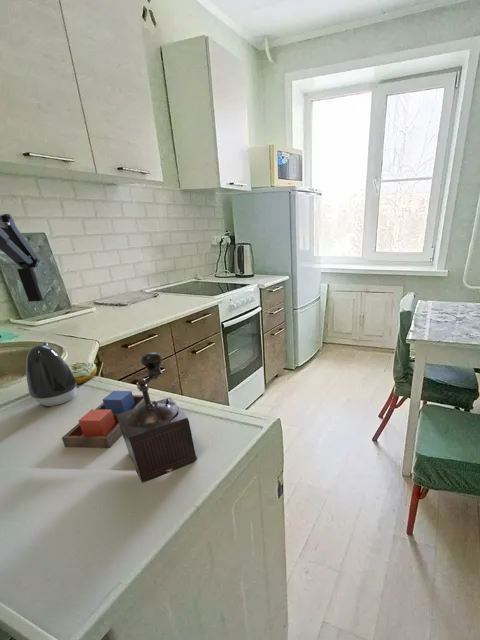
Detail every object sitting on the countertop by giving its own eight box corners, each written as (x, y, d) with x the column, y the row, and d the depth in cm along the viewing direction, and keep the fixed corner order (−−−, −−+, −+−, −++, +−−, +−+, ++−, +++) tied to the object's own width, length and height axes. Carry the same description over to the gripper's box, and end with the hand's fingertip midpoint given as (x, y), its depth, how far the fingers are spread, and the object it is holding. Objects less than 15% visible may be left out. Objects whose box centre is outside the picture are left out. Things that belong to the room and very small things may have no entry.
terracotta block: (84, 439, 73) (78, 420, 71) (97, 427, 77) (91, 409, 75) (105, 439, 72) (99, 420, 70) (116, 427, 76) (111, 409, 74)
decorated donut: (55, 389, 98) (51, 377, 96) (60, 375, 106) (56, 364, 105) (97, 381, 101) (93, 369, 99) (98, 368, 110) (95, 357, 108)
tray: (65, 449, 71) (61, 437, 70) (114, 405, 88) (111, 395, 86) (110, 450, 70) (106, 438, 69) (151, 405, 86) (149, 395, 85)
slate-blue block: (107, 416, 81) (102, 399, 79) (118, 407, 85) (113, 390, 83) (126, 417, 80) (121, 399, 78) (136, 407, 84) (131, 390, 82)
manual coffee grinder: (201, 459, 66) (185, 371, 58) (141, 484, 61) (113, 390, 53) (174, 424, 78) (158, 347, 70) (121, 442, 72) (97, 361, 64)
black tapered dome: (84, 389, 97) (66, 336, 90) (77, 406, 88) (56, 348, 81) (42, 396, 94) (21, 342, 87) (30, 414, 85) (5, 355, 78)
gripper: (-102, 172, 47) (-32, 327, 56) (36, 185, 69) (70, 294, 78) (-150, 176, 48) (-74, 328, 57) (1, 188, 70) (39, 295, 79)
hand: (10, 309), depth 68 cm, fingers open, 13 cm apart
